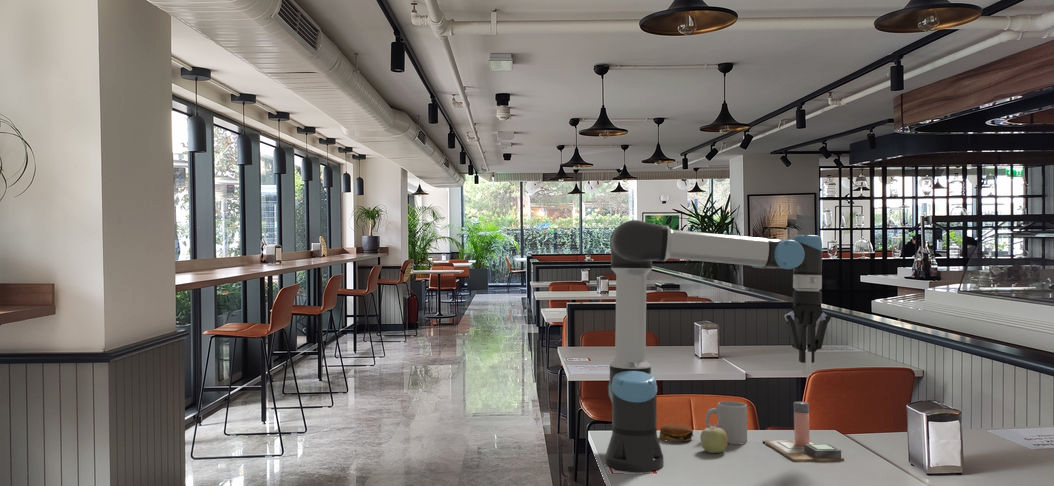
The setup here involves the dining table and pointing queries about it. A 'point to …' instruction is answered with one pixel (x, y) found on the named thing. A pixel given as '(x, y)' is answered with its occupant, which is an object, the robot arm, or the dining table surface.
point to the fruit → (714, 439)
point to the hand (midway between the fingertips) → (806, 374)
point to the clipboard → (804, 451)
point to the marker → (801, 423)
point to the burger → (676, 432)
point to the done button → (822, 447)
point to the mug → (731, 420)
